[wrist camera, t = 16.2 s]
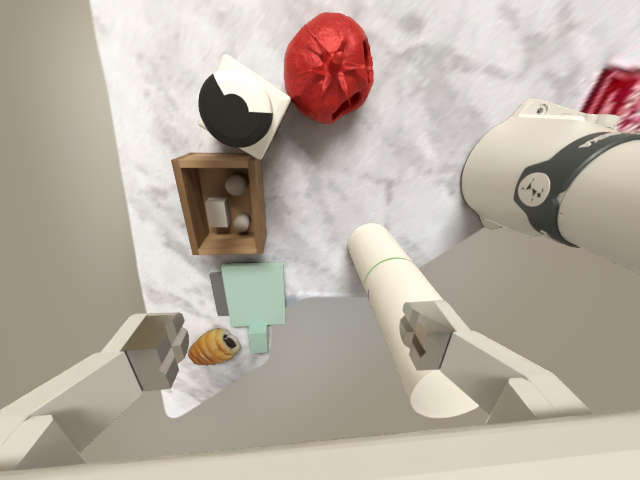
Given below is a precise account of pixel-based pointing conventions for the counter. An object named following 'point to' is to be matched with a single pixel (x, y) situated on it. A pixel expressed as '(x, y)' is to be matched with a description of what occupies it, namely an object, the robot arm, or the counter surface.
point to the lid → (255, 299)
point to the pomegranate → (328, 68)
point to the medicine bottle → (241, 108)
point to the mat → (219, 293)
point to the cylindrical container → (387, 303)
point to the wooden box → (222, 202)
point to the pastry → (214, 347)
